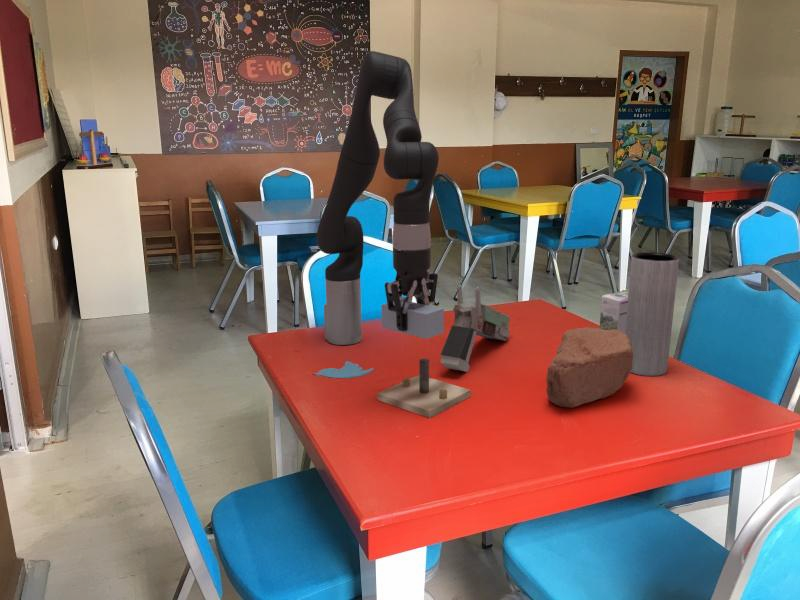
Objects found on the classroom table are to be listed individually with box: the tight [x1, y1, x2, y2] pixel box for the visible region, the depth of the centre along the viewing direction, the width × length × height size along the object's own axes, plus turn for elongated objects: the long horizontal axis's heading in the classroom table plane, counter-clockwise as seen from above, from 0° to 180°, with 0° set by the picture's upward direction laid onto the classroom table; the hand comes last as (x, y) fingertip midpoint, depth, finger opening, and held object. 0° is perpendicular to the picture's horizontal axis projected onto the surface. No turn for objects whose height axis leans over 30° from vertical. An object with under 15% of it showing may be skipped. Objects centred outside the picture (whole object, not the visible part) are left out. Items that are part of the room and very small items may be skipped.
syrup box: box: [599, 292, 628, 333], centre depth 165 cm, size 6×6×14 cm
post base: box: [376, 358, 472, 419], centre depth 137 cm, size 14×14×8 cm
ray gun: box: [439, 284, 511, 373], centre depth 163 cm, size 7×32×20 cm, turn 153°
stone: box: [545, 326, 633, 409], centre depth 138 cm, size 16×26×15 cm, turn 145°
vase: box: [625, 251, 680, 377], centre depth 151 cm, size 10×10×27 cm
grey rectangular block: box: [381, 301, 445, 340], centre depth 133 cm, size 12×6×5 cm, turn 48°
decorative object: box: [314, 360, 374, 379], centre depth 153 cm, size 12×1×10 cm
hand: (412, 326), depth 134 cm, fingers closed on grey rectangular block, 5 cm apart
